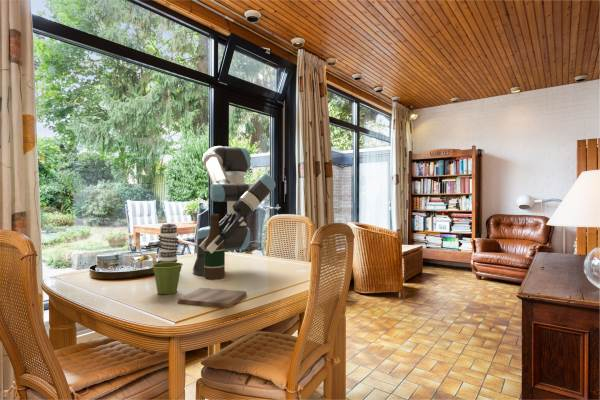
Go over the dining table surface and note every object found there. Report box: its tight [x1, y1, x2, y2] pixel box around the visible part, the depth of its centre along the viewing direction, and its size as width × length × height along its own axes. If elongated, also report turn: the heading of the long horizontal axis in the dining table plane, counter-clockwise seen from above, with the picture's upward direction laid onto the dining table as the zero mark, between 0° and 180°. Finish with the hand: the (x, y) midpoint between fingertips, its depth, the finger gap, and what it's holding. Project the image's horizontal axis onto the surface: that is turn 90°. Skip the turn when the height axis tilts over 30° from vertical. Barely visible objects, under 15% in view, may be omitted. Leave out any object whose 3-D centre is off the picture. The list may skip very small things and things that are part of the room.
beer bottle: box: [203, 213, 226, 281], centre depth 128 cm, size 8×8×24 cm
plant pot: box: [151, 261, 184, 296], centre depth 137 cm, size 12×12×11 cm
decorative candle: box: [158, 222, 179, 263], centre depth 169 cm, size 9×9×25 cm
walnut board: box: [177, 287, 247, 309], centre depth 129 cm, size 20×16×2 cm
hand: (205, 249), depth 126 cm, fingers closed on beer bottle, 7 cm apart
